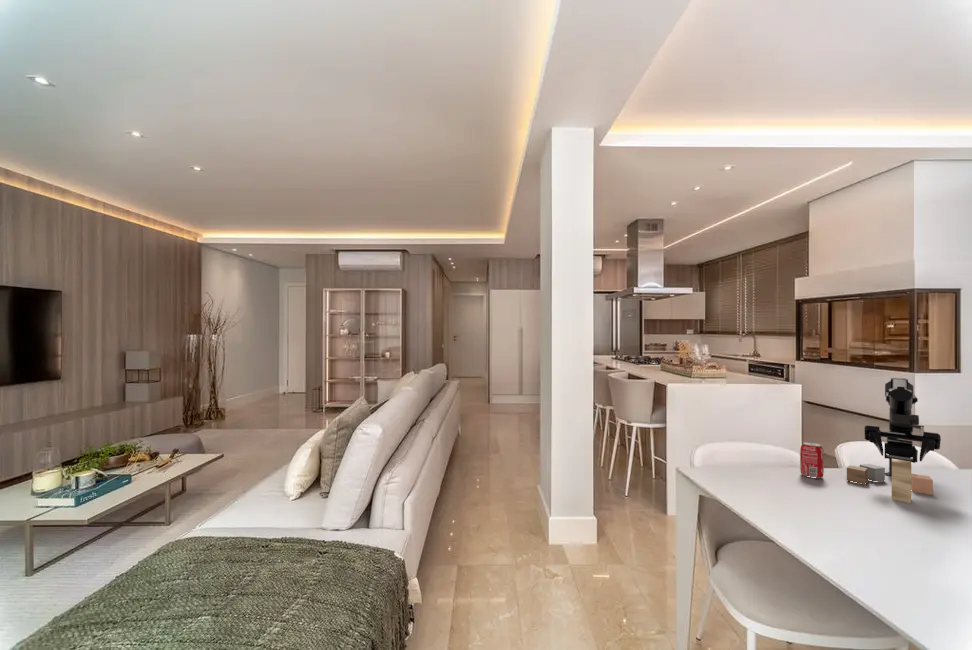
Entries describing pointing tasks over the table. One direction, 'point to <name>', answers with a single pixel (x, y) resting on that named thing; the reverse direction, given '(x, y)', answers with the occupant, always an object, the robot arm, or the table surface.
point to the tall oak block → (901, 480)
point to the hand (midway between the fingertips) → (901, 457)
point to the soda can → (812, 459)
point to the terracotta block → (921, 484)
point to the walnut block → (857, 474)
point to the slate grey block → (875, 472)
